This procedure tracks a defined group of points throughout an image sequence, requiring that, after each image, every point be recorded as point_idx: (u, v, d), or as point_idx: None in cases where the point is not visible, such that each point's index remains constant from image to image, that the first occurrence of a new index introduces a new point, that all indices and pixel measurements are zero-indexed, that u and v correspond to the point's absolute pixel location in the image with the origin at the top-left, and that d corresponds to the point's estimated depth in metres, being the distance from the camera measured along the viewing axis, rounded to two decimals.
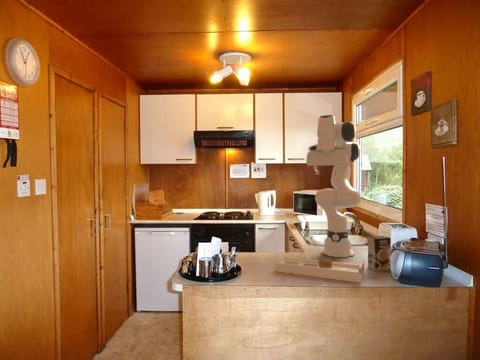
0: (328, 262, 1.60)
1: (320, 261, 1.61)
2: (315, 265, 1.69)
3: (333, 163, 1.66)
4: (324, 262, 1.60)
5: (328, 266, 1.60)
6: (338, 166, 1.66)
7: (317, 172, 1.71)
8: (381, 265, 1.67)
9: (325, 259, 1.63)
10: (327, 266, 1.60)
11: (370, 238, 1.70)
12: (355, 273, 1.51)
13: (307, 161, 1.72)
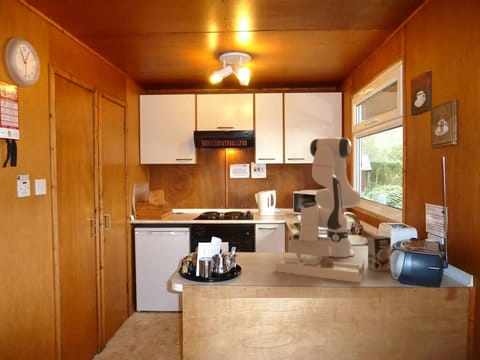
0: (330, 262, 1.59)
1: (322, 261, 1.61)
2: (315, 265, 1.69)
3: (316, 254, 1.63)
4: (326, 262, 1.60)
5: (330, 266, 1.59)
6: (321, 257, 1.63)
7: (300, 260, 1.67)
8: (381, 265, 1.67)
9: (327, 259, 1.62)
10: (329, 266, 1.60)
11: (370, 238, 1.70)
12: (355, 273, 1.51)
13: (290, 249, 1.68)
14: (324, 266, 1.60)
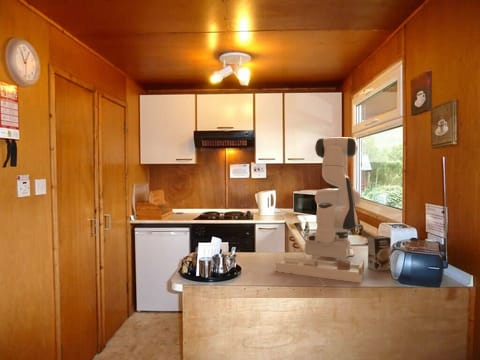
0: (347, 264, 1.56)
1: (338, 263, 1.57)
2: (315, 265, 1.69)
3: (332, 255, 1.59)
4: (343, 264, 1.57)
5: (347, 268, 1.56)
6: (337, 259, 1.59)
7: (316, 262, 1.64)
8: (381, 265, 1.67)
9: (343, 261, 1.59)
10: (346, 268, 1.56)
11: (370, 238, 1.70)
12: (355, 273, 1.51)
13: (305, 250, 1.65)
14: (341, 268, 1.57)
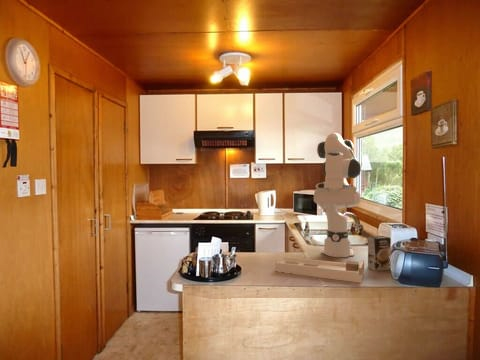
0: (356, 265, 1.54)
1: (347, 264, 1.56)
2: (315, 265, 1.69)
3: (341, 201, 1.64)
4: (351, 265, 1.55)
5: (355, 269, 1.54)
6: (346, 205, 1.64)
7: (324, 210, 1.69)
8: (381, 265, 1.67)
9: (352, 262, 1.57)
10: (354, 269, 1.54)
11: (370, 238, 1.70)
12: (355, 273, 1.51)
13: (314, 198, 1.69)
14: (349, 269, 1.55)
